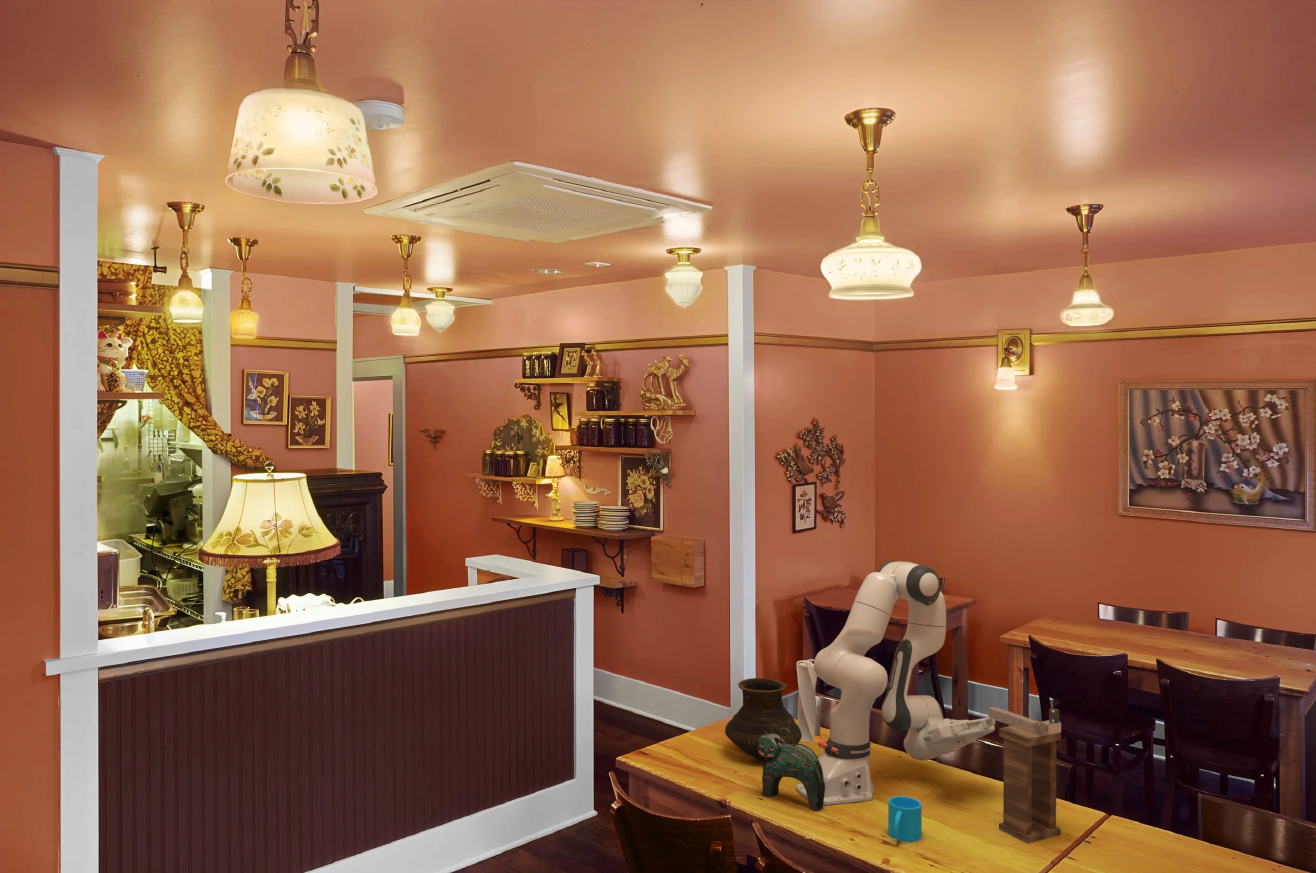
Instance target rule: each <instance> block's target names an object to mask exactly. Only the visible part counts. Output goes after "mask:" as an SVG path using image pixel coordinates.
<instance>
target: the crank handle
mask: <svg viewBox="0 0 1316 873" xmlns="http://www.w3.org/2000/svg"><path fill="white" fill-rule="evenodd" d="M987 709H988V712H987V713H988V714H987V718H992V719H994V720H995V721H998V722H1000V723H1003V724H1005V725H1009V726H1014V727H1017V728H1020V729H1023V730H1026V731H1028V732H1031V733H1034V734H1037V735H1040V736H1044V735H1049V734H1055V733H1060V732H1061V733H1062V722H1060V720H1059V719H1060V718H1059V717H1060V715H1059V714H1060V713H1059V711H1060V710H1059V709H1057V708H1049V710H1048V713H1049V715H1048V717H1049V719H1048V720H1043V721H1038V720H1035V719H1032V718H1028V717H1026V716H1024V715H1021V714H1017V713H1014V712H1012V711H1009V710H1006V709H1003V708H999V707H996V706H991V707H988V708H987Z"/></svg>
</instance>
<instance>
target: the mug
mask: <svg viewBox="0 0 1316 873" xmlns="http://www.w3.org/2000/svg"><path fill="white" fill-rule="evenodd" d="M887 801H888V802H887V803H888V804H887V807H888V808H887V810H888V811H887V813H888V814H887V834H888V836H889V837H890V838H892V839H894V840H897V841H899V842H905V843H914V842H917V841H920V840H921V839H922V836H923V835H922V831H923V830H922V826H923V825H922V824H923V823H922V821H923V820H922V816H923V813H922V812H923V811H922V810H923V808H922V802H921V801H920V800H919V799H917V798H912V797H910V796H904V795H903V796H902V795H901V796H900V795H899V796H892V797H890V798H888V800H887Z"/></svg>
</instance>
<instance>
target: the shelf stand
mask: <svg viewBox="0 0 1316 873" xmlns="http://www.w3.org/2000/svg"><path fill="white" fill-rule="evenodd" d="M998 732H999V733H998V736H999V737H1001V738H1003V786H1002V788H1003V792H1002V793H1003V795H1002V796H1003V797H1002V798H1003V799H1002V800H1003V802H1002V803H1003V806H1002V808H1003V809H1002V812H1003V813H1002V814H1003V815H1002V817H1003V819H1002V820H1003V822H1000V823H998V830H999V831H1002V832H1003V833H1006V834H1008V835H1010V836H1011V837H1014V838H1015V839H1018V840H1020V841H1021V842H1023V843H1025V844H1031V843H1035V842H1038V841H1042V840H1045V839H1049V838H1053V837H1057V836H1060V835H1061V834H1062V833H1061V832H1062V831H1061V830H1062V829H1061V827H1058V826H1057V741H1062V731H1061V732H1060V733H1055V734H1049V735H1044V736H1040V735H1037V734H1034V733H1031V732H1028V731H1026V730H1023V729H1020V728H1017V727H1014V726H1011V725H1009V726H1004V727H999V729H998Z"/></svg>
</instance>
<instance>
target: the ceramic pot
mask: <svg viewBox="0 0 1316 873" xmlns="http://www.w3.org/2000/svg"><path fill="white" fill-rule="evenodd" d="M737 686H738V688H739V689H740V690H741V691H742V706H740V709H739V710H738V711H737V712H736V713H735V714H734V715H733V716H732V717H731V719H730V720H729V721H728V722H727V723H726V725H725V727H724V733H725V736H726V737H727V738H728V739H729V740H730V741H731V742H732V743H733V745H735V746H736V747H737V748H738V749H740V750H741V751H742V752H743V753H745V754H747V755H749V756H750V757H752V758H753V757H754V758H756V759H761V760H765V758H764V757H762V756H761V755H760V754H759V753H758V749H757V742H758V740H759V738H760V737H761V735H762V732H763V731H765V732H766V733H767V734H772V733H774V734H777V735H779V736H780V734H781V738H782V739H783V741H784V742H785V743H786V744H800V742H799V741H800V740H801V737H802V733H801V730H800V728H799V726H798V723H796V721H795V719H794V717H793V715H792V714H791V713H790V712H789V711H788V710H787V709H786V707H785V706H784V702H783V692H784V690H787V688H788V686H787V684H786V683H785V682H782V681H779V680H776V679H771V678H763V677H753V678H746V679H742V680H740V682H738V683H737ZM783 727H785V728H787V729H788V730H789V731H790V732H791V734H790V733H789V732H788V731H787V730H786V729H782V730H781V733H780V729H781V728H783Z"/></svg>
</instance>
